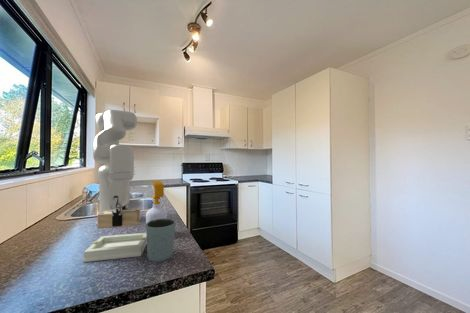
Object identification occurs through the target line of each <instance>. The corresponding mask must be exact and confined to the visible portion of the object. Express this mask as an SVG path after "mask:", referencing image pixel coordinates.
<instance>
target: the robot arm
mask: <svg viewBox="0 0 470 313" xmlns="http://www.w3.org/2000/svg"><path fill="white" fill-rule="evenodd" d="M136 115H137V114H135V113H134V112H132V111H126V110H119V109H109V110H105V112H99V113H97V114H96V115H95V123H96V128H97V130H98V134H96V136H95V137H94V139H93V143H92V156H93V160H94V161H95V162H96V163H98V164H104V165H101V166H100V167H99V168H98V169H97V176H98V186H99V189H98V190H99V195H98V196H99V197H98V198H99V200H98V203H99V204H98V205H99V210H98V211H99V212H98V214H100V213H102V212H103V211H110V210H112V226H113V227H114V228H117V227H116V226H122V215H121V213H122V210H128V209H129V208H128V205H129V203H130V198H131V192H130V191H131V190H130V181H132V180H133V179H134V175H135V174H134V172H135V170H134V168H135V166H134V165H135V162H134V161H135V157H134V150H133V148H132V146H131V145H129V144H120V140H123V139H124V138H125V137H126V135H127V131H133V130H134V129H135V128H137V126H138V118H137V117H138V116H136ZM95 224H96V225H97V226H98V219H97V220H96V221H95Z"/></svg>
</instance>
